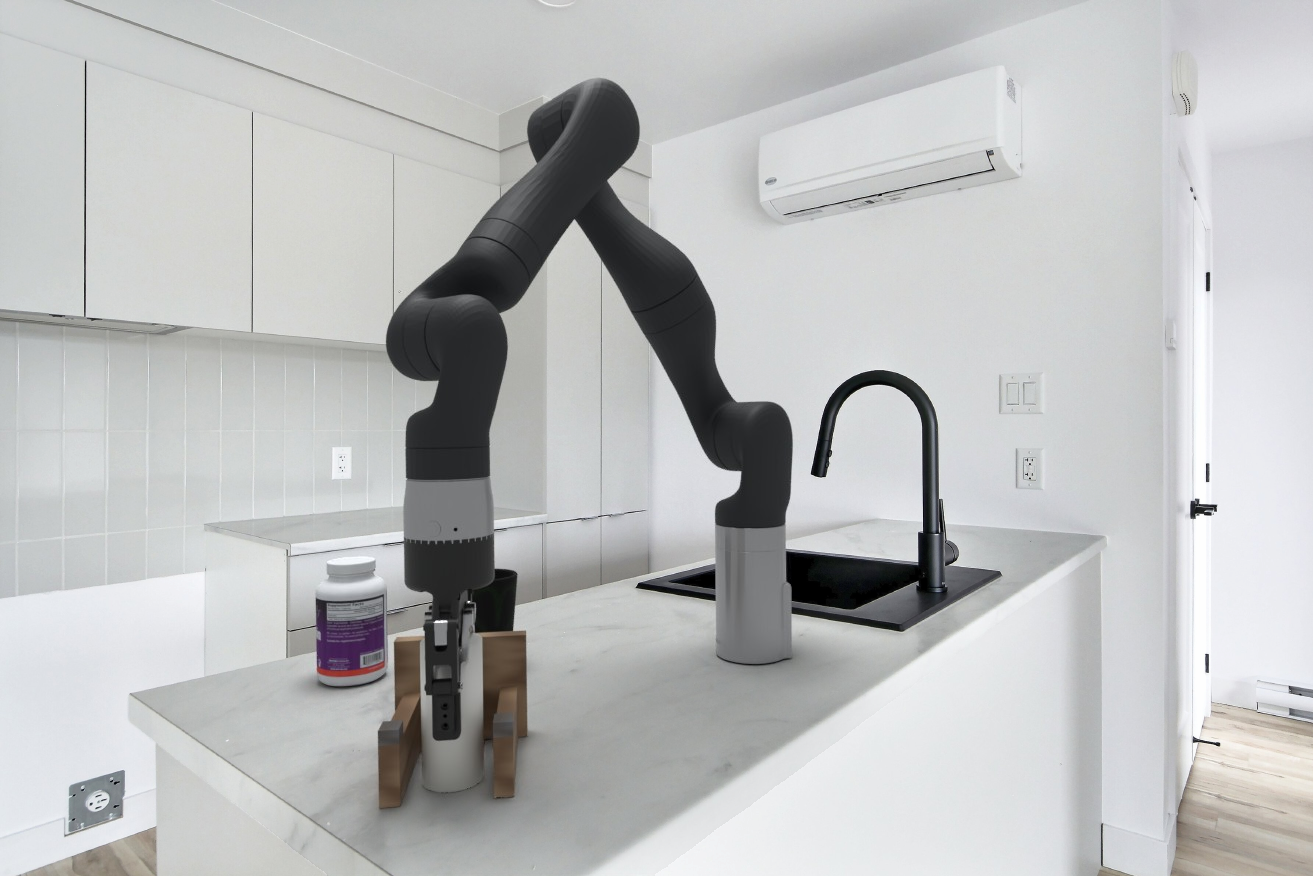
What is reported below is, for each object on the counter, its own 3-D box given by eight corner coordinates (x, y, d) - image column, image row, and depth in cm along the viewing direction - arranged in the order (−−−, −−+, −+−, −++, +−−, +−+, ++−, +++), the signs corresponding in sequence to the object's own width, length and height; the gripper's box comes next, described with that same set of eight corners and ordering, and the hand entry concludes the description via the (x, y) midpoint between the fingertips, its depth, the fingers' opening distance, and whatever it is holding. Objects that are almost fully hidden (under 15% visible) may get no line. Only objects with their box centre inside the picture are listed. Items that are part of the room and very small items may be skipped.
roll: (486, 762, 68) (484, 629, 68) (481, 789, 63) (479, 645, 63) (426, 767, 67) (424, 631, 67) (417, 795, 62) (415, 648, 62)
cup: (504, 682, 90) (502, 581, 89) (444, 678, 91) (443, 579, 91) (527, 662, 97) (526, 569, 97) (472, 659, 99) (471, 567, 98)
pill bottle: (330, 668, 95) (328, 555, 95) (395, 666, 96) (393, 553, 96) (306, 691, 87) (303, 567, 87) (377, 688, 88) (375, 565, 88)
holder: (527, 729, 75) (526, 630, 75) (525, 795, 62) (523, 675, 62) (398, 739, 73) (396, 637, 73) (367, 809, 60) (365, 684, 60)
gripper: (488, 541, 58) (491, 753, 59) (498, 519, 73) (500, 689, 73) (387, 545, 57) (391, 760, 57) (417, 521, 71) (420, 694, 72)
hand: (452, 720), depth 65 cm, fingers open, 7 cm apart
